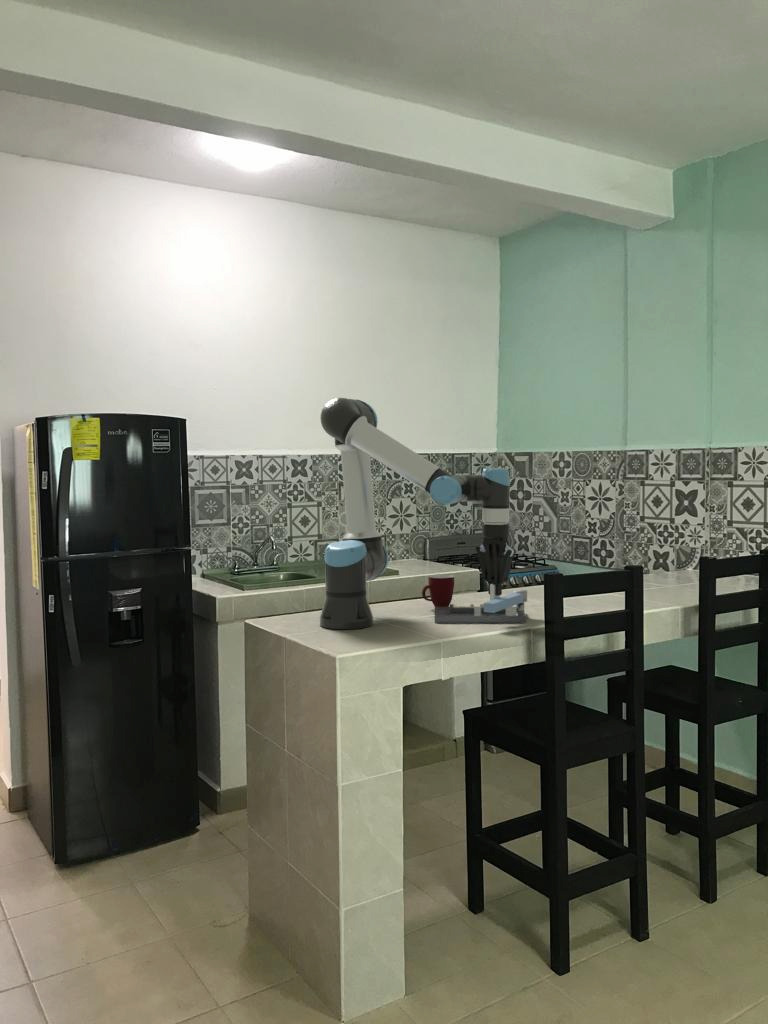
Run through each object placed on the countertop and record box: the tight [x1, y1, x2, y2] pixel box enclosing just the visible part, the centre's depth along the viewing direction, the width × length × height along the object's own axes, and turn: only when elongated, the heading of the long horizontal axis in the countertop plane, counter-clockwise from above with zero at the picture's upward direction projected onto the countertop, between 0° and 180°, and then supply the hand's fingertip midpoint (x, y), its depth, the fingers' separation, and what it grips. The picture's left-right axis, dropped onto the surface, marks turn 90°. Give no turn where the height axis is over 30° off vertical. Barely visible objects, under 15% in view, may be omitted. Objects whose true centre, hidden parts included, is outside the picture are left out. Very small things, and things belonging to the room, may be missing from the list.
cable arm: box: [483, 589, 528, 613], centre depth 237 cm, size 23×4×3 cm, turn 147°
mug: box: [421, 574, 455, 608], centre depth 263 cm, size 10×8×10 cm
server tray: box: [434, 602, 527, 624], centre depth 246 cm, size 26×15×4 cm, turn 86°
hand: (494, 606), depth 237 cm, fingers closed
